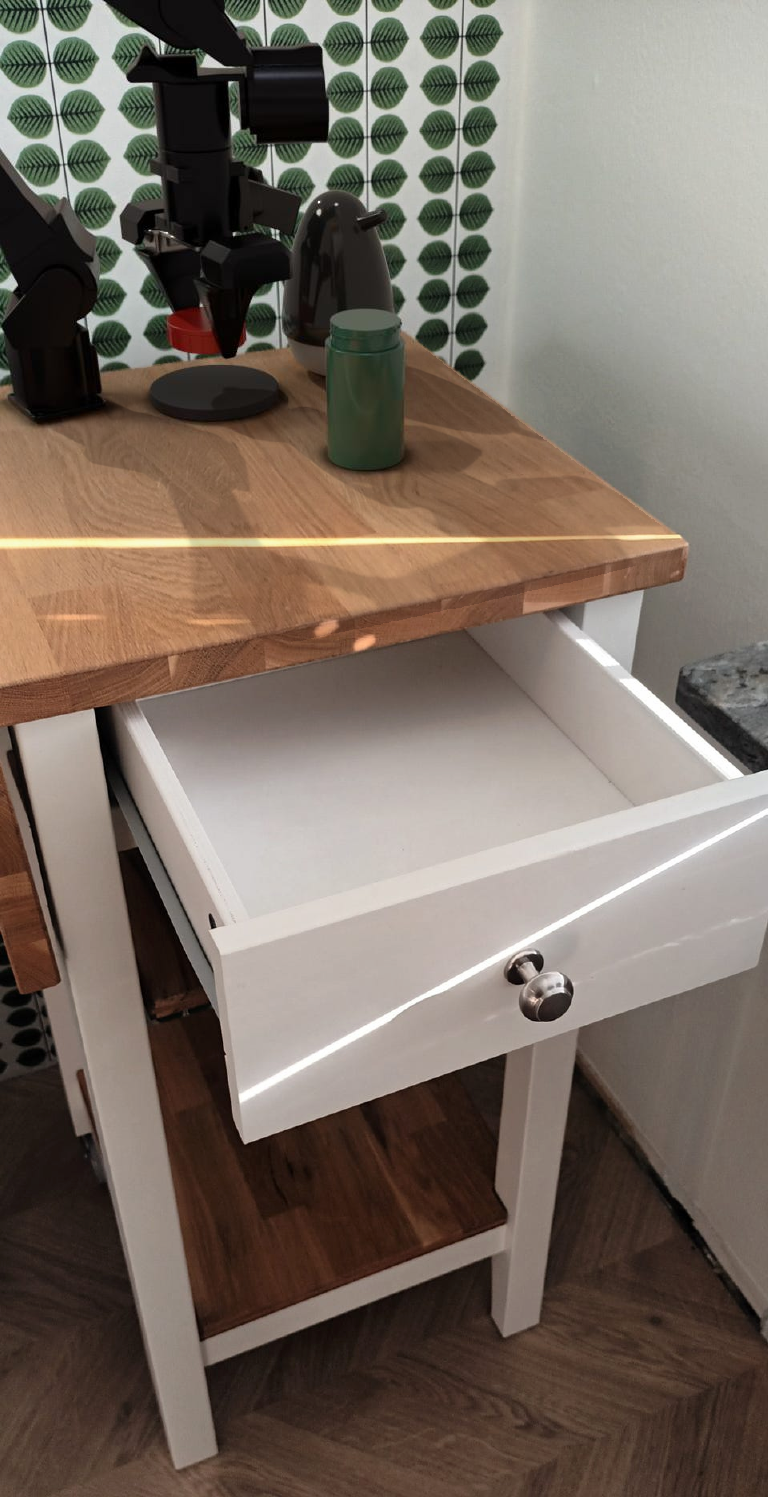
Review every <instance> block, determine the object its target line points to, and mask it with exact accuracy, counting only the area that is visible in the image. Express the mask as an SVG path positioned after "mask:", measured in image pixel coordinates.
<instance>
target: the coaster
mask: <svg viewBox="0 0 768 1497" xmlns="http://www.w3.org/2000/svg"><path fill="white" fill-rule="evenodd" d="M149 395H150V402H151V404H152V406H153V407H154V408H155V409H156V410H157V411H159V412H160V413H162V414H164V415H167V416H169V417H173V418H177V419H181V420H187V421H188V420H189V421H198V422H200V421H201V422H218V421H230V420H238V419H242V418H247V417H251V416H254V415H256V414H259V413H263V412H264V411H267V410H269V409H270V408H271V407H272V406H274V405H275V404H276V402H278V400H279V396H280V395H279V382H278V381H277V379H276V378H275V377H274V376H273V375H272V374H270V373H268V372H266V371H264V370H261V369H258V368H254V367H250V366H245V365H237V364H203V365H195V366H189V367H184V368H180V369H176V370H173V371H170V372H167V373H165V374H163V375H161V376H159V377H158V378H156V379H155V380H154V381H153V382H152V383H151V385H150V387H149Z"/></svg>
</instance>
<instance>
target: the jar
mask: <svg viewBox="0 0 768 1497" xmlns="http://www.w3.org/2000/svg"><path fill="white" fill-rule="evenodd" d="M402 327H403V321H402V319H401V317H400V316H399V315H397V314H396V313H395V314H394V313H391V312H388V311H384V310H377V309H353V310H347V311H342V312H339V313H337V314H335V315H333V316H332V317H331V319H330V330H329V333H330V336H329V337H328V338H327V339H326V341H325V358H326V376H325V392H326V393H325V397H326V398H325V400H326V401H325V402H326V437H327V438H326V440H327V444H326V445H327V457H328V459H329V461H330V462H332V464H334V465H336V466H339V467H341V468H344V469H348V470H353V471H376V470H383V469H388V468H391V467H393V466H396V465H397V464H399V463H400V462H401V461H402V460H403V458H404V456H405V408H406V407H405V404H406V402H405V400H406V340H405V338H404V336H402V335H401V328H402Z"/></svg>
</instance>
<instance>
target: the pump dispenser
mask: <svg viewBox="0 0 768 1497" xmlns="http://www.w3.org/2000/svg"><path fill="white" fill-rule="evenodd" d="M388 219H389V213H388V211H387V210H386V209H385V208H379V209H375V210H371V211H369V210H368V209H367V207H366V205H365V204H364V203H363V202H362V201H361V199H360V198H358V197H357V196H356V195H355V194H353V193H351V192H350V191H349V192H348V191H346V190H343V189H331V190H327V191H324V192H322V193H320V194H319V195H317V196H316V197H315V198H313V199H312V201H311V202H310V203H309V204H308V207H307V208H306V209H305V212H304V213H303V215H302V218H301V219H300V222H299V225H298V228H297V230H296V233H295V236H294V239H293V244H292V246H291V249H290V251H291V252H292V270H293V277H292V278H291V279H290V280H284V285H283V294H282V303H281V330H282V334H283V335H284V336H285V337H286V340H287V344H288V347H289V349H290V351H291V354H292V355H293V357H294V358H295V359H296V361H297V362H298V364H300V365H301V366H302V367H304V368H305V369H306V370H308V371H310V372H312V373H314V374H316V375H319V376H323V377H326V358H325V341H326V339H327V338H328V337H329V336H330V333H329V330H330V319H331V317H332V316H333V315H335V314H337V313H339V312H342V311H347V310H353V309H377V310H384V311H388V312H391V313H394V314H396V309H395V302H394V301H395V300H394V293H393V286H392V280H391V274H390V271H389V266H388V262H387V258H386V255H385V252H384V248H383V245H382V241H381V238H380V236H379V232H378V230H377V226H380V225H381V224H384V223H387V222H388Z"/></svg>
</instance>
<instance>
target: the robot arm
mask: <svg viewBox="0 0 768 1497" xmlns="http://www.w3.org/2000/svg"><path fill="white" fill-rule="evenodd" d="M102 1H103V3H106V5H109V6H110V7H111V8H113V9H114V10H115V11H117V12H118V13H120V14H121V15H122V16H123V17H124V18H126V19H128V20H129V21H131V23H134V24H135V25H136V26H138V27H139V28H141V29H143V30H144V31H145V32H147V33H149V34H151V35H152V36H154V37H155V38H156V39H157V40H160V41H161V42H162V43H164V44H166V45H167V46H169V47H171V48H173V49H176V50H181V51H187V52H188V51H195V50H198V49H199V50H200V51H202V52H203V53H204V54H206V55H207V56H208V57H210V58H212V59H213V60H214V61H216V62H218V64H220V65H222V66H223V67H206V66H198V63H197V55H196V54H195V53H193V54H191V53H189V54H187V53H185V54H184V53H183V54H159V53H158V52H156V50H154V48H152V46H151V45H150V43H149V42H143V43H142V45H141V49H140V51H139V53H138V55H137V56H136V58H135V59H134V60H133V61H132V62H131V63H130V64H129V65H128V66H127V68H126V74H125V79H126V81H127V82H128V83H130V84H151V85H152V86H151V87H152V96H153V97H152V98H153V107H154V119H155V129H156V139H157V141H156V142H157V152H158V157H151V158H148V159H149V170H150V173H151V174H153V175H156V176H159V177H160V184H161V193H162V198H161V197H160V198H153V199H152V198H151V199H147V200H140V201H132V202H127V203H126V205H125V207H124V208H123V210H122V211H121V212H120V214H119V224H120V234H121V239H122V240H124V241H125V242H128V243H130V244H131V245H134V246H139V245H142V244H143V243H144V247H138V248H137V249H136V254H137V256H138V257H139V258H141V259H142V261H143V263H144V264H145V267H146V268H147V270H148V272H149V273H150V275H151V276H152V279H153V280H154V282H155V284H156V285H157V287H158V289H159V291H160V292H161V294H162V296H163V298H164V299H165V301H166V303H167V305H168V307H169V309H170V310H171V312H172V314H173V313H174V312H177V311H180V310H183V309H187V308H194V307H201V305H202V307H204V310H205V313H206V316H207V318H208V321H209V324H210V327H211V329H212V332H213V335H214V338H215V340H216V343H217V345H218V348H219V350H220V352H221V353H220V355H221V357H222V358H223V359H224V360H229V359H234V358H235V357H236V356H237V353H238V351H239V348H238V346H239V343H240V339H241V335H242V331H243V327H244V323H245V324H246V319H247V315H248V312H249V309H250V306H251V303H252V300H253V298H254V296H255V294H256V293H257V292H258V291H259V290H260V289H261V288H262V287H263V286H264V285H268V284H273V283H279V282H283V281H284V282H285V280H290V279H291V278H292V277H293V270H292V252H291V249H289V247H288V246H287V245H285V244H284V243H283V241H282V240H280V239H277V238H274V237H272V236H269V235H267V234H265V233H263V232H260V231H257V232H256V231H255V232H254V230H255V228H254V227H255V226H254V224H255V225H259V226H262V227H264V228H265V227H266V228H268V229H272V230H276V231H280V233H281V234H282V235H285V236H288V237H293V236H294V232H295V228H296V225H297V220H298V217H299V213H300V209H301V205H302V200H303V196H301V195H298V194H295V193H293V192H290V191H287V190H284V189H282V188H279V187H277V186H272V185H270V184H267V183H265V181H264V174H263V171H262V170H261V169H260V168H257V167H253V166H251V165H248V164H245V162H244V160H241V159H238V158H237V157H234V153H233V149H234V148H233V136H232V119H231V115H232V114H231V102H230V100H231V98H230V83H229V82H231V83H232V82H236V90H237V107H238V108H237V110H238V122H239V130H240V131H249V136H253V137H254V138H253V139H254V143H255V145H290V144H291V145H292V144H293V145H294V144H327V143H328V141H329V136H330V135H329V134H330V97H329V96H328V94H327V86H326V74H325V67H324V50H323V47H322V46H321V45H320V43H319V42H301V43H298V44H295V45H264V46H263V45H259V46H249V43H248V41H247V37H246V35H245V31H244V30H243V29H241V30H239V29H238V28H237V27H236V26H235V24H234V22H233V21H232V20H231V18H230V17H229V15H228V14H227V13H226V3H225V2H226V1H225V0H102ZM22 177H23V176H21V174H20V173H19V172H18V170H17V169H16V168H15V166H14V165H13V164H12V162H11V161H10V160H9V158H8V157H7V156H6V154H5V152H3V150H2V149H1V148H0V251H1V254H2V255H3V258H4V260H5V262H6V266H7V267H8V269H9V271H10V273H11V275H12V278H14V280H15V282H16V284H17V285H16V287H15V288H14V289H13V290H12V292H11V293H10V296H9V298H8V302H7V306H6V309H5V312H4V314H3V317H2V321H1V325H0V328H1V330H2V334H3V335H2V336H3V340H4V345H5V350H6V357H7V363H8V368H9V369H8V370H9V375H10V380H11V386H12V391H13V392H10V393H8V394H7V401H8V402H10V404H12V405H13V406H14V407H16V408H17V409H18V410H20V411H21V412H22V413H23V414H24V415H25V416H27V417H28V418H29V419H30V420H32V422H35V423H39V422H44V421H45V422H46V421H49V420H53V419H54V420H55V419H58V418H62V417H63V418H64V417H67V416H71V415H76V414H80V413H81V414H82V413H85V412H89V411H94V410H99V409H103V408H105V407H107V400H106V399H104V398H103V397H102V396H100V394H102V392H103V385H102V378H101V371H100V364H99V354H98V347H97V346H96V345H95V344H93V343H92V342H91V338H90V330H89V329H88V328H87V327H85V326H84V325H83V324H81V323H79V321H81V320H83V319H85V318H86V317H87V316H88V315H89V314H90V313H91V312H92V311H93V309H94V307H95V304H96V303H97V300H98V293H99V284H100V278H101V276H100V275H101V261H100V257H99V254H98V253H97V250H96V247H97V241H98V237H97V236H96V235H94V234H93V233H92V232H90V231H89V230H87V228H86V227H85V226H84V225H83V224H82V223H81V221H80V219H79V218H78V216H77V214H76V212H75V210H74V208H73V206H72V205H71V202H70V201H69V200H68V198H67V196H63V197H61V198H60V199H59V200H58V201H57V202H56V204H55V205H54V206H52V205H50V203H48V202H47V201H46V200H44V199H43V198H42V197H41V196H40V195H38V194H37V193H35V192H34V190H32V189H31V188H30V186H29V185H28V184H27V183H26V182H25V179H24V178H22ZM249 232H251V233H249ZM234 233H239V234H238V235H234ZM244 233H245V234H244ZM201 272H202V274H203V277H201Z"/></svg>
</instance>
